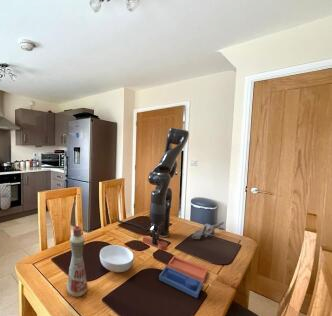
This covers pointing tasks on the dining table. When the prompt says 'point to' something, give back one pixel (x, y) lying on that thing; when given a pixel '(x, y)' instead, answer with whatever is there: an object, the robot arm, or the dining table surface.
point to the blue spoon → (182, 280)
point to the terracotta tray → (188, 268)
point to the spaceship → (206, 230)
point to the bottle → (77, 265)
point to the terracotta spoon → (160, 244)
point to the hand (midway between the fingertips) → (155, 243)
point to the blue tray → (178, 285)
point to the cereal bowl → (116, 258)
